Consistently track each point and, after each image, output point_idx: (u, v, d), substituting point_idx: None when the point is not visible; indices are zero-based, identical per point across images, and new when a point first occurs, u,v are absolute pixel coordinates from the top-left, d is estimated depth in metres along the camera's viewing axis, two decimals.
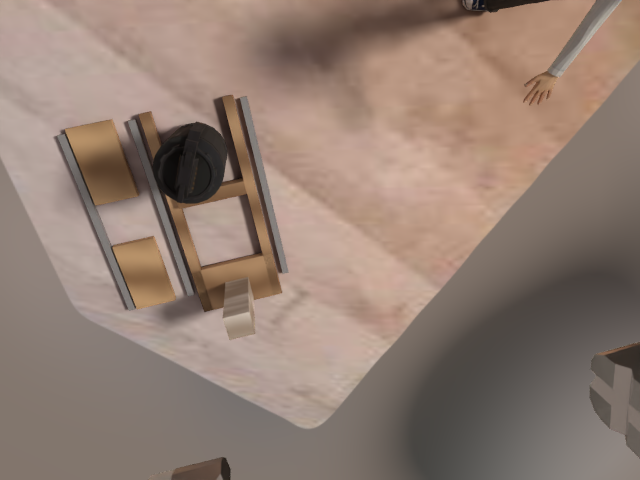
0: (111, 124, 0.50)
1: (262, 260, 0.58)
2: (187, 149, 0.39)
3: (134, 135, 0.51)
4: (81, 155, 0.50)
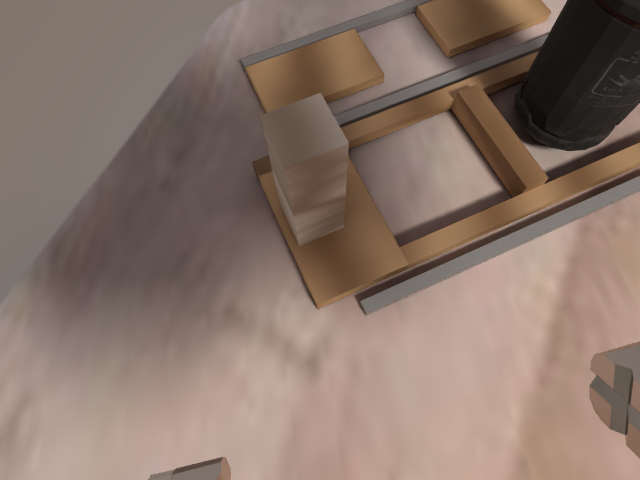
0: (546, 13, 0.35)
1: (387, 248, 0.27)
2: None
3: (541, 39, 0.34)
4: None
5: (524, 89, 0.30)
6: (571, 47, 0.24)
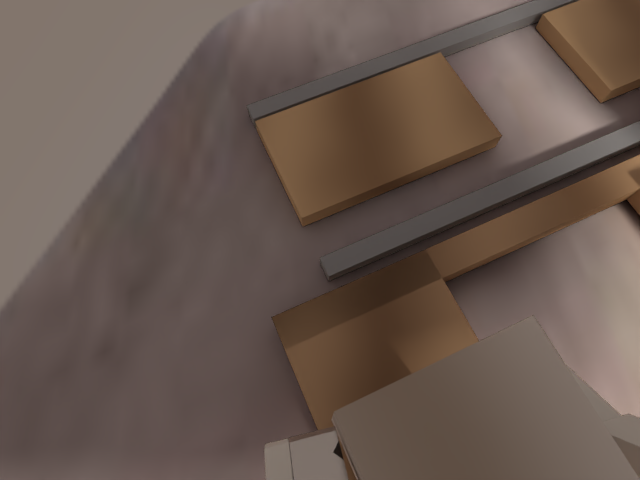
0: None
1: None
2: None
3: None
4: None
5: None
6: None
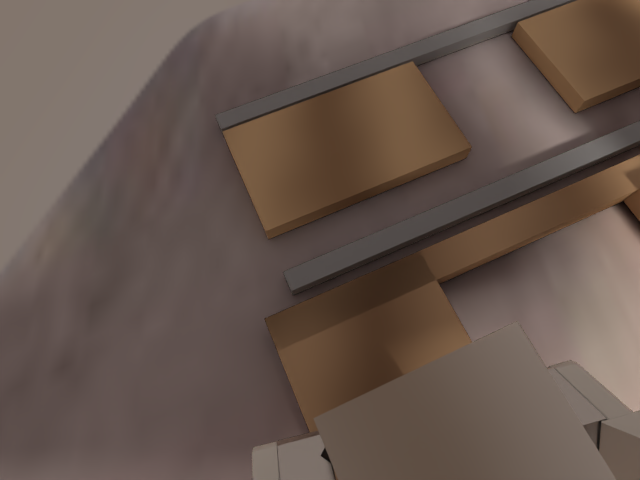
0: None
1: None
2: None
3: None
4: None
5: None
6: None
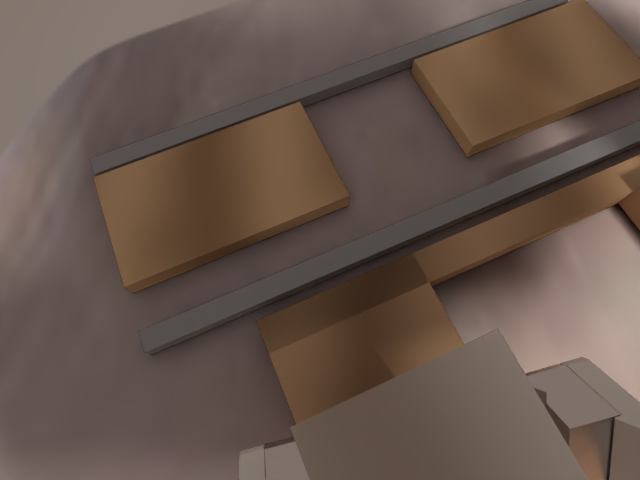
0: None
1: None
2: None
3: (638, 125, 0.19)
4: (534, 27, 0.20)
5: None
6: None
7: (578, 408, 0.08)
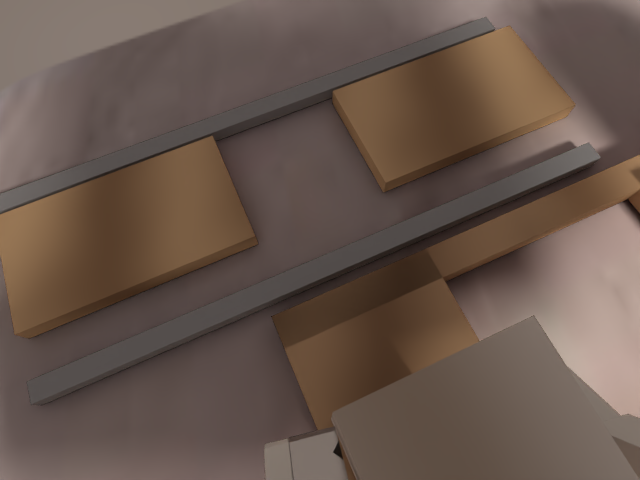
0: (566, 108, 0.19)
1: None
2: None
3: (557, 160, 0.18)
4: (458, 56, 0.20)
5: None
6: None
7: None
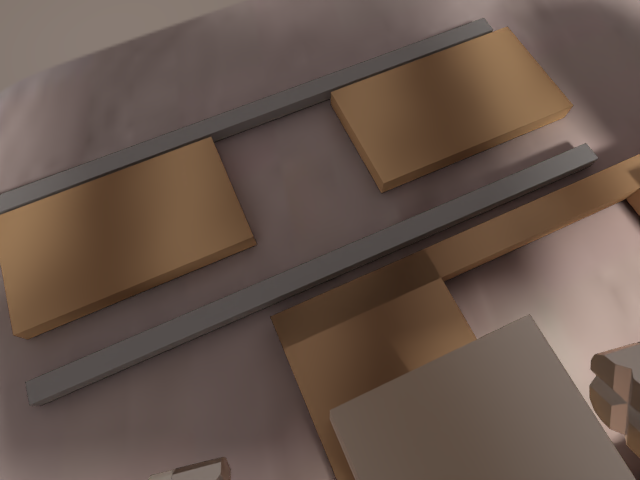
0: (563, 109, 0.19)
1: None
2: None
3: (555, 161, 0.18)
4: (456, 57, 0.20)
5: None
6: None
7: None
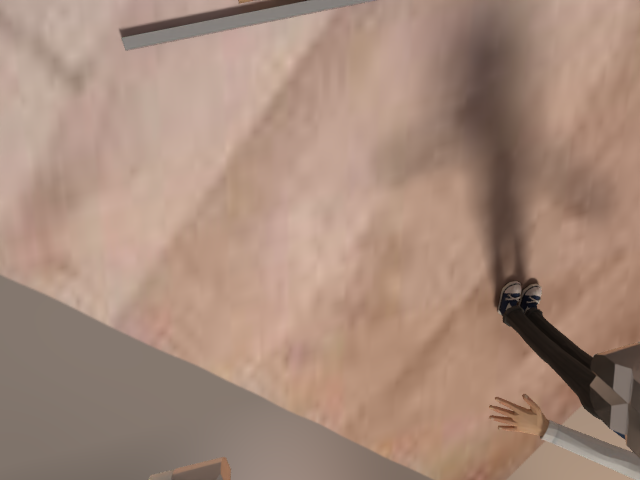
0: None
1: None
2: None
3: None
4: None
5: None
6: None
7: None
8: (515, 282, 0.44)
